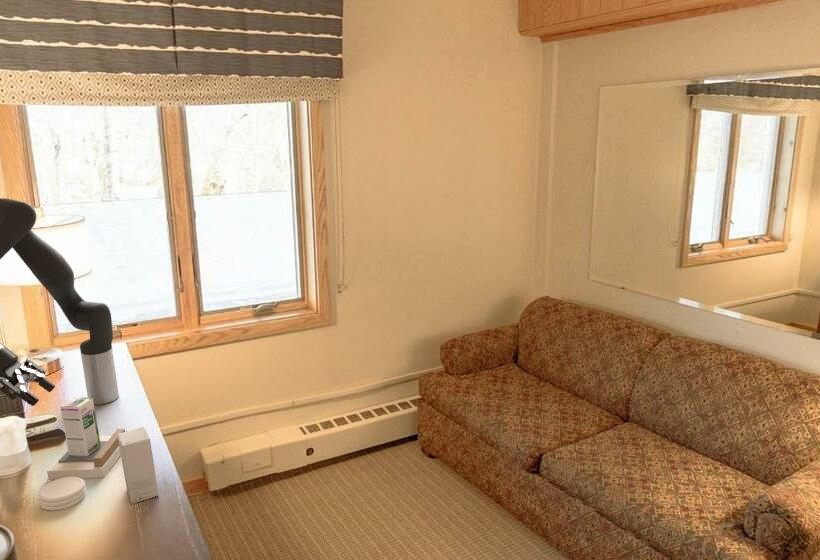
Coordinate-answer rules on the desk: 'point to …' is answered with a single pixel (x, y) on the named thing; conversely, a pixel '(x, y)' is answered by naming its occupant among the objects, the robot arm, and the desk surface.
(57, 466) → the display plinth
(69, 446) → the syrup box
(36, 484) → the desk surface
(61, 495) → the coaster
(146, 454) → the skincare box
